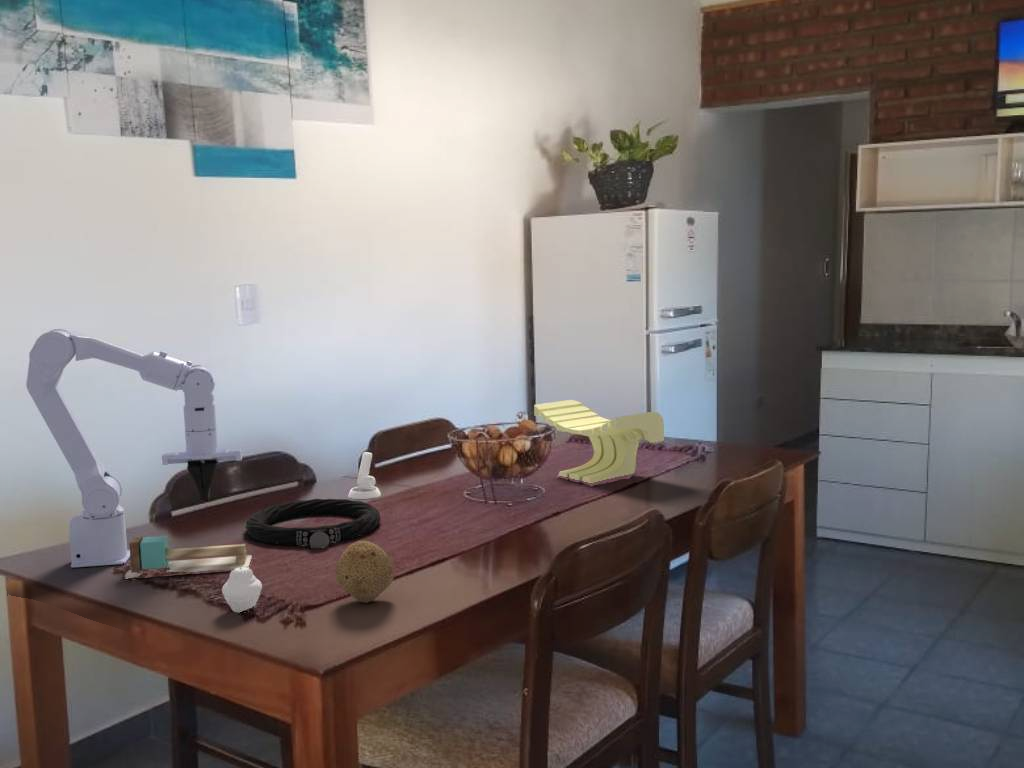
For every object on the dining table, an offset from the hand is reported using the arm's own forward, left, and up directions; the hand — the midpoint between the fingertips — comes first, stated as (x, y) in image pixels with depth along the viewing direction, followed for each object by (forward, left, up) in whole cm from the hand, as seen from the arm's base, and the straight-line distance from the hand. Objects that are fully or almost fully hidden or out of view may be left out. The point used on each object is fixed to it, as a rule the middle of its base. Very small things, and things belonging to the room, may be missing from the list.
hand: (205, 498), depth 187 cm
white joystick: (+31, +37, -10) cm, 49 cm away
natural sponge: (+29, -38, -10) cm, 49 cm away
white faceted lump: (+10, -37, -10) cm, 39 cm away
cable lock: (+20, +9, -11) cm, 24 cm away
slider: (-7, -13, -9) cm, 17 cm away
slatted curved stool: (+89, +40, -10) cm, 98 cm away
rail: (-2, -13, -10) cm, 16 cm away
